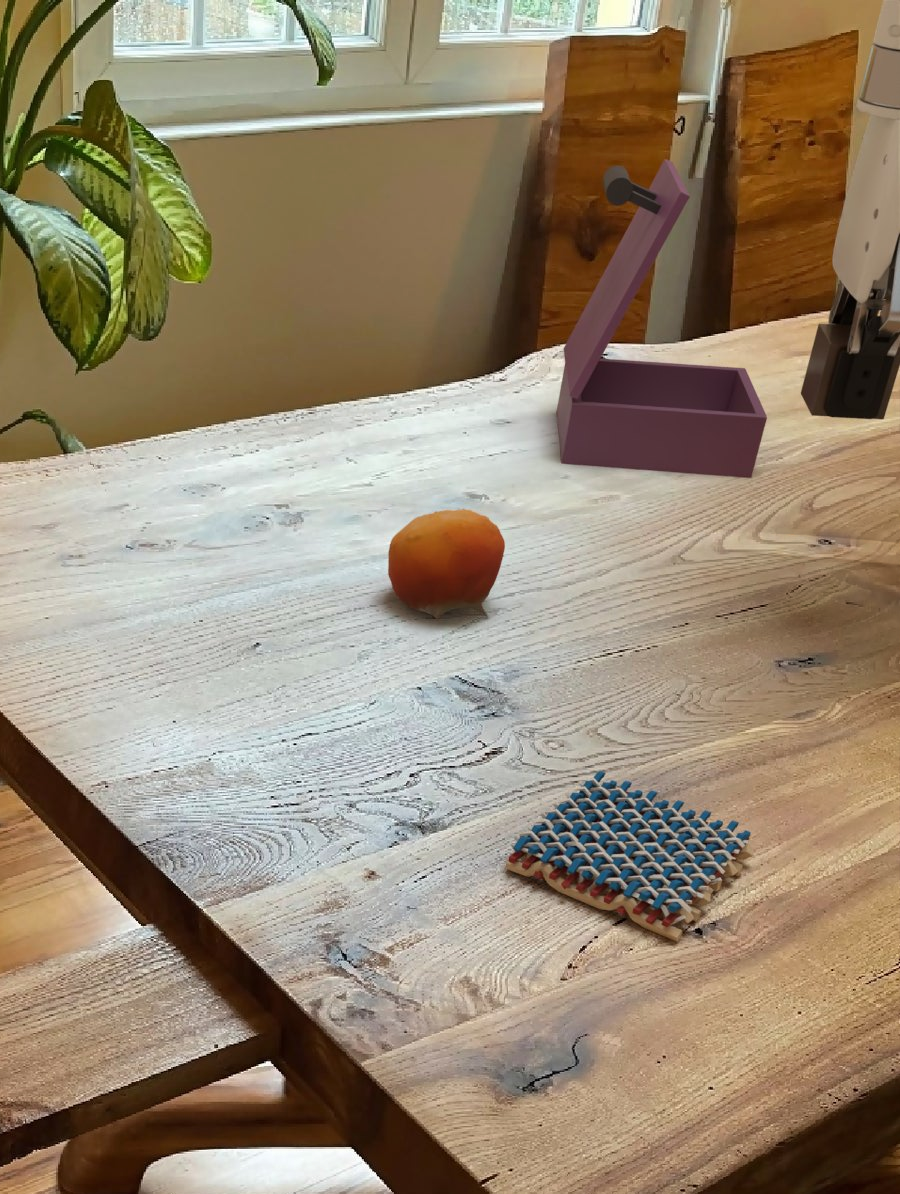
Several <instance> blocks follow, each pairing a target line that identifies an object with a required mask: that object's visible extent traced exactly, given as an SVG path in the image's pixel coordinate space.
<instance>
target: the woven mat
mask: <svg viewBox="0 0 900 1194" xmlns="http://www.w3.org/2000/svg"><path fill="white" fill-rule="evenodd" d="M605 776H606V772H605V771H601V770H599V771H596V773H595V775H594V776H593V777H591V778H588V779H587V780H582V779H581V780H579V781H578V782H577V783H578V784H579V786H580V787H577V788H574V789H572V791H578V792H572V793H570V791H565V793H564V794H565V796H566V798H561V799H559V800H558V802H554V803H553V804H552V806H553V807H554V808H555V809H552V810H551V809H550V810H546V811H543V812H541V813H540V814H539V816H540V817H541V818H539V819H538V818H537V819H534V822H533V823H534V825H531V823H528V824H526V825H525V827H526V828H527V829H528V831H524V832H520V833H519V834H518V835H519V836H518V835H515V836H514V837H513V839H514V840H515V843H511V844H510V847H511V848H512V849H513V851H514V852H513V853H512V854H510V855H509V856H508V860H507V861H506V862H505V865H504V869H506V870H508V871H510V872H513V873H516V874H519V875H521V876H524V877H535V878H536V879H539V880H542V881H543V880H545V881H546V883H547V884H548V885H549V886H550V887H552V889H554V890H555V891H557V892H558V893H560V894H563V895H565V896H568V897H569V898H572V899H575V900H576V901H577V900H578V901H580V902H582V903H585V904H587V905H589V906H592V907H594V908H596V909H598V910H603V911H615V910H616V913H619V914H621V915H623V916H627V915H628V916H629V918H630V919H631V920H632V921H633V922H635V923H636V924H637V925H640V927H642V928H644V929H646V930H648V931H651V932H653V933H655V934H658V935H660V936H663V937H665V938H667V939H669V940H671V941H674V942H677V943H679V941H680V939H681V937H682V936H683V930H682V929H681V928H679V927H676V926H674V924H676V923H679V922H680V923H681V924H689V923H691V922H692V921H693V922H694V923H697V921H698V920H699V919H700V916H701V915H702V911H701V910H700V909H698V908H697V907H695V906H698V907H699V906H704V905H707V904H710V903H711V896H712V894H713V893H714V892H718V891H720V889H721V886H722V883H723V879H722V876H724V878H729V877H733V876H736V877H739V876H740V875H741V873H742V871H743V870H744V869H743V866H744V865H743V864H741V863H740V862H736V861H734V860H742V861H745V860H748V859H750V858H752V857H754V852H755V851H754V849H753V847H751V846H750V844H748V843H749V842H750V837H751V834H752V833H751V831H749V830H748V829H747V830H746V829H745V830H743V832H737V834H736V835H735V833H734V831H735V830H736V829H737V828H738V826H739V824H740V822H739V821H736V820H734V819H733V820H731V821H730V822H729V823H728V824H727V826H726V827H725V828H723V829H722V827H723V825H724V822H723V821H722V820H720V819H717V820H716V821H713V822H711V821H710V822H708V821H707V820H708V819H709V818H710V817H711V814H712V811H710V810H706V809H704V810H703V811H702V813H701V814H700V815H699V816H698V818H697V817H696V818H695V816H696V811H695V810H693V809H689V810H688V811H682V812H681V814H680V813H679V811H680V810H681V809H682V807H683V806H684V804H685V802H684V801H682V800H679V799H677V800H676V801H675V802H674V803H673V805H672V806H671V807H669V804H670V803H669V802H670V801H669V800H667V799H663V800H661V801H655V802H654V803H652V802H653V800H654V799H655V798H656V797H657V795H658V793H659V792H658V791H656V790H651V789H650V791H648V793H647V794H646V796H644V797H643V791H642V790H639V789H637V790H635V791H628V790H629V789H630V788H631V786H632V781H628V780H624V781H623V782H622V784H621V785H620V786H619V787H618V788H617V786H618V782H617V781H615V780H613V779H612V780H610V781H609V782H608V781H607V782H606V781H602V779H603V778H605ZM601 781H602V784H601V783H600V782H601ZM520 860H521V861H520Z"/></svg>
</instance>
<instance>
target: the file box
mask: <svg viewBox="0 0 900 1194" xmlns="http://www.w3.org/2000/svg"><path fill="white" fill-rule="evenodd" d="M559 389H560V390H559V396H558V403H557V407H556V413H555V414H556V424H557V434H558V435H557V436H558V442H559V452H560V453H559V454H560V461H561V462H560V463H561V464H562V465H570V466H571V465H573V466H585V467H598V468H612V469H626V470H640V471H651V472H652V471H653V472H665V473H667V472H668V473H678V474H679V473H680V474H691V475H704V476H705V475H706V476H717V477H718V476H720V477H731V478H744V479H752V478H753V477H752V476H753V473H754V470H755V466H756V462H757V458H758V453H759V450H760V447H761V442H762V438H763V435H764V431H765V427H766V424H767V420H768V416H767V415H766V411H765V409H764V407H763V405H762V403H761V400H760V398H759V396H758V393H757V391H756V389H755V387H754V385H753V382H752V380H751V378H750V375H749V373H748V371H747V369H746V368H744V367H735V366H734V367H733V366H719V365H704V364H703V365H702V364H687V363H672V362H660V361H646V360H645V361H644V360H642V361H641V360H627V359H616V358H615V359H613V358H600V360H599V362H598V364H597V365H596V367H595V369H594V371H593V373H592V374H591V376H590V378H589V380H588V382H587V383H586V385H585V387H584V389H583V391H582V393H581V394H580V396H579V398H578V399H575V398H573V397H571V396H569V388H568V380H567V372H566V364H565V363H564V366H563V373H562V378H561V384H560V388H559Z"/></svg>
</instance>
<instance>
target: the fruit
mask: <svg viewBox="0 0 900 1194" xmlns="http://www.w3.org/2000/svg"><path fill="white" fill-rule="evenodd" d="M505 548H506V542H505V539H504V537H503V534H502V533H501V530H500V528H499V527H498V526H497V524H495V523H494V522H493V521H491V519H490V518H489V516H486V515H484V514H479V513H478V512H476V511H473V510H471V509H455V510H451V509H443V510H440V511H434V512H432V513H428V514H422V515H421V516H417V517H415V518H413V519H412V520H411V521H410V522H409V523H407V524H406V525H405V526H403V528H402V529H400V531H398V532H397V533H396V534H394V536H393V537H392V538H391V541H390V543H389V547H388V552H387V554H388V562H387V563H388V564H387V565H388V567H387V572H388V573H387V574H388V578H389V580H390V583H391V587H392V591H393V592H394V594H395V595H396V597H397V598H398V599H399V601H401V602H402V603H403V604H405V605H406V606H407V607H408V608H410V609H411V610H413V611H419V612H422V613H425V614H428V615H431V616H433V617H434V618H435V619H436V621H437V622H438V621H439V619H440V618H442V615H444V614H445V613H448V612H449V611H451V610H455V609H469V610H474V611H478V612H480V613H482V615H484V616H485V618H487V619H489V616H488V613H486V611H485V609H484V607H483V603H484V601H485V600H486V599H487V598H488V597H489V595H490V592H491V590H492V589H493V587H494V585H495V583H496V581H497V578H498V575H499V572H500V569H501V566H502V562H503V559H504V553H505V550H506V549H505Z"/></svg>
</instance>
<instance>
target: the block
mask: <svg viewBox="0 0 900 1194" xmlns="http://www.w3.org/2000/svg"><path fill="white" fill-rule="evenodd" d="M851 327H852V325H837V324H829V323H818V324H817V329H816V332H815V336H814V340H813V343H812V347H811V352H810V356H809V359H808V364H807V367H806V371H805V375H804V379H803V383H802V386H801V389H800V395H801V397H802V399H803V401H804V403H805V405H806V407H807V409H808V411H809V413H810V415H811V416H813V417H814V416H815V417H828V416H827V414H826V412H825V406H826V402H827V399H828V395H829V391H830V388H831V384H832V380H833V377H834V373H835V369H836V366H837V362H838V358H839V355H840V351H841V350H847V346H848V341H849V337H850V332H851ZM865 327H866V326H865ZM899 370H900V342H899V346H898V350H897V353H896V355H895V358H894V362H893V365H892V369H891V372H890V375H889V379H888V382H887V386H886V389H885V392H884V396H883V399H882V403H881V406H880V409H879V413H878V415H877V416H876V417H875V418H873V419H872V420H884V419H885V416H886V413H887V409H888V406H889V403H890V399H891V396H892V393H893V389H894V386H895V383H896V379H897V376H898V373H899Z"/></svg>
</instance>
